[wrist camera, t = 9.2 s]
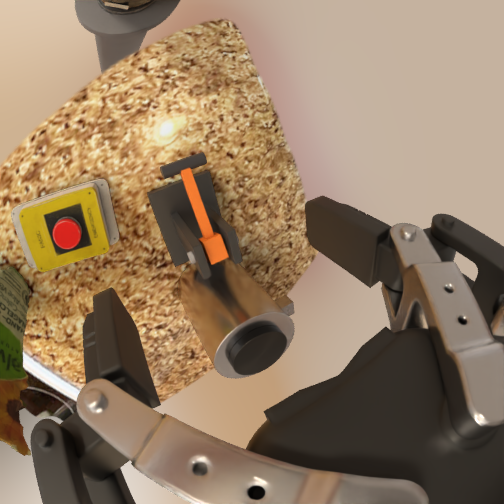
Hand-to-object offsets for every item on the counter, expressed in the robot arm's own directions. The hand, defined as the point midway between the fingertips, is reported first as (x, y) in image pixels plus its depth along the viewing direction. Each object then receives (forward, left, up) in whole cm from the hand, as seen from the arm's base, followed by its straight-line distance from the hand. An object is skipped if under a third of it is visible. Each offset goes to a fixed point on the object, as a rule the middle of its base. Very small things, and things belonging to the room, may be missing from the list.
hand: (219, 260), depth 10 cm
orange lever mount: (+11, +4, -28) cm, 30 cm away
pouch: (+8, -28, -28) cm, 41 cm away
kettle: (+25, +5, -28) cm, 38 cm away
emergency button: (+4, -13, -28) cm, 31 cm away
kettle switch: (+7, +4, -21) cm, 22 cm away
